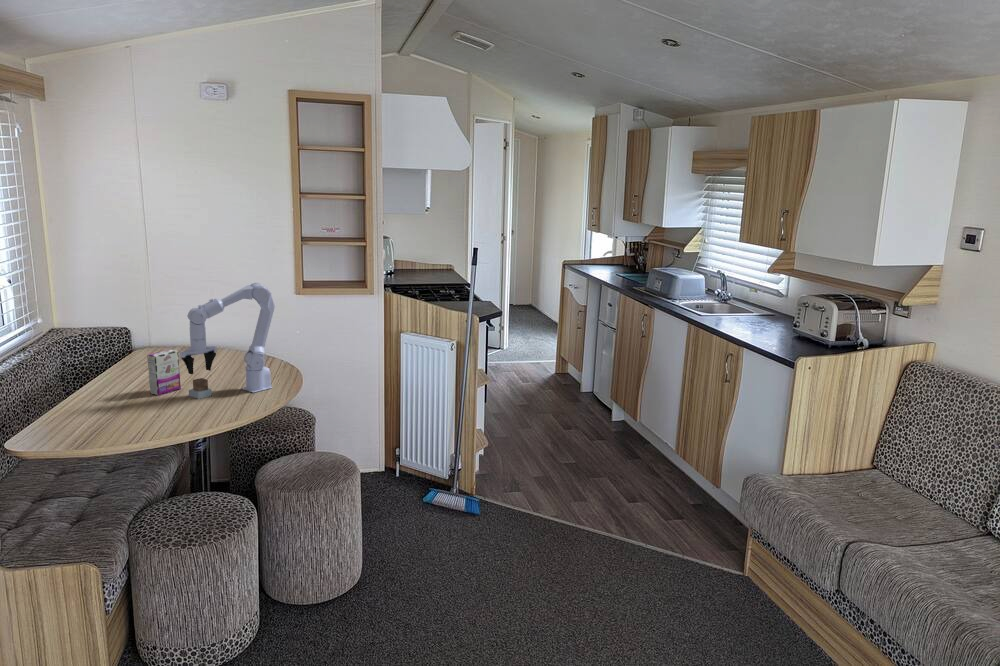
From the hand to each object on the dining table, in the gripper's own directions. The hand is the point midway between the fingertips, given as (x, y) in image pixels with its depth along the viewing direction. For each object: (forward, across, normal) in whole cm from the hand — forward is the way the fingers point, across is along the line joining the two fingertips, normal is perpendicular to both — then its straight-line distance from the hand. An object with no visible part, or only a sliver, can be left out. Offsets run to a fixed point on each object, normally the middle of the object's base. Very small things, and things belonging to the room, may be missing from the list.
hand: (199, 371), depth 282 cm
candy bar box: (+10, +6, -15) cm, 19 cm away
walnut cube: (+7, 0, 0) cm, 7 cm away
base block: (+10, 0, 0) cm, 10 cm away
